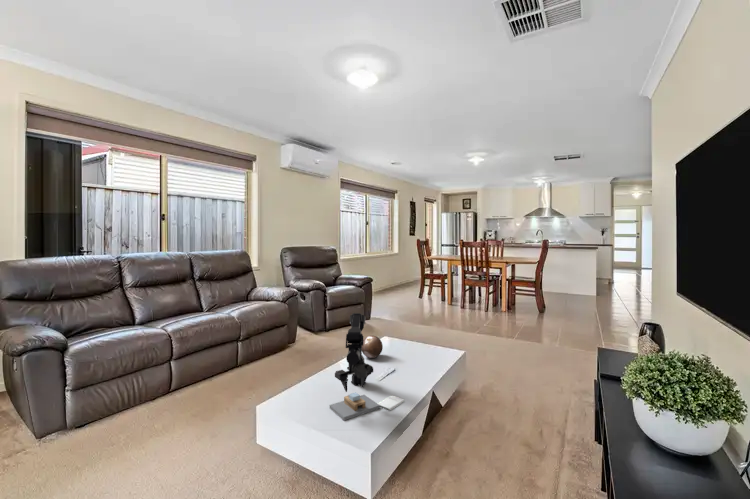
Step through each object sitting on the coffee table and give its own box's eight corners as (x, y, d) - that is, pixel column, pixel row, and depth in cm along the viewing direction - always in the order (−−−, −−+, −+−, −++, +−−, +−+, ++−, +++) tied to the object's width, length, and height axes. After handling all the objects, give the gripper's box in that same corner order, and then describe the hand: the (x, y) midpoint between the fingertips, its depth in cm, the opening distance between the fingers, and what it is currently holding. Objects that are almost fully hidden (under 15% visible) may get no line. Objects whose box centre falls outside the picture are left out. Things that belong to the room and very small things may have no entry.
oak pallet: (354, 399, 173) (354, 393, 173) (365, 407, 165) (365, 401, 165) (344, 402, 170) (344, 396, 169) (354, 411, 161) (354, 404, 161)
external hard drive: (376, 406, 170) (391, 397, 179) (389, 412, 164) (404, 402, 174) (376, 403, 170) (391, 394, 179) (389, 408, 164) (404, 399, 174)
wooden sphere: (358, 359, 234) (357, 338, 234) (365, 353, 248) (364, 332, 248) (379, 362, 230) (379, 339, 229) (385, 354, 244) (385, 333, 244)
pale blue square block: (355, 396, 170) (355, 392, 170) (360, 399, 167) (360, 395, 167) (348, 398, 168) (348, 394, 168) (352, 401, 164) (352, 397, 164)
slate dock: (364, 397, 179) (364, 394, 179) (379, 408, 167) (379, 405, 167) (329, 408, 167) (329, 405, 167) (343, 420, 156) (343, 417, 156)
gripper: (345, 366, 154) (345, 400, 155) (379, 358, 165) (379, 390, 165) (334, 359, 164) (334, 391, 164) (367, 352, 174) (367, 382, 175)
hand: (354, 389), depth 167 cm, fingers open, 9 cm apart
